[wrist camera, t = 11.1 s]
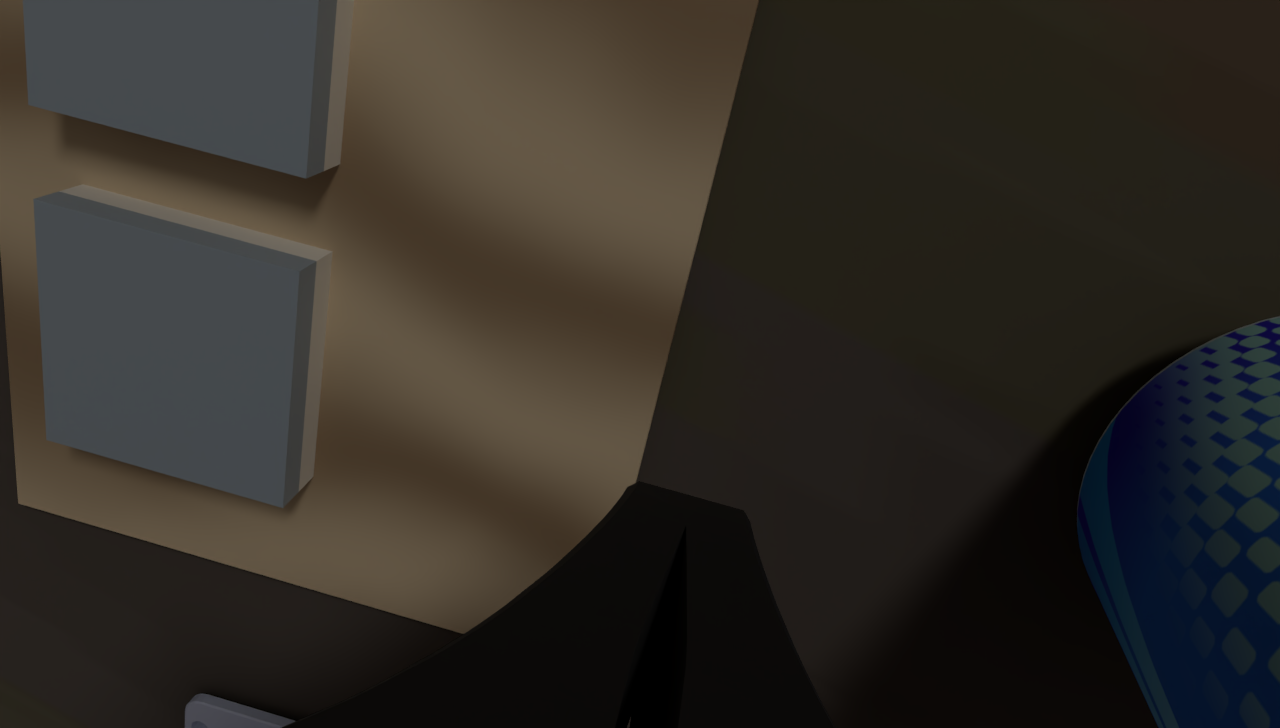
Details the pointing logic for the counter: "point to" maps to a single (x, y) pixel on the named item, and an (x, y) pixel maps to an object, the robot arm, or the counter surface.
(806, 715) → the robot arm
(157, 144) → the cork mat
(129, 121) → the tile near
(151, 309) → the tile far
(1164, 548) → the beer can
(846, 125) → the counter surface
